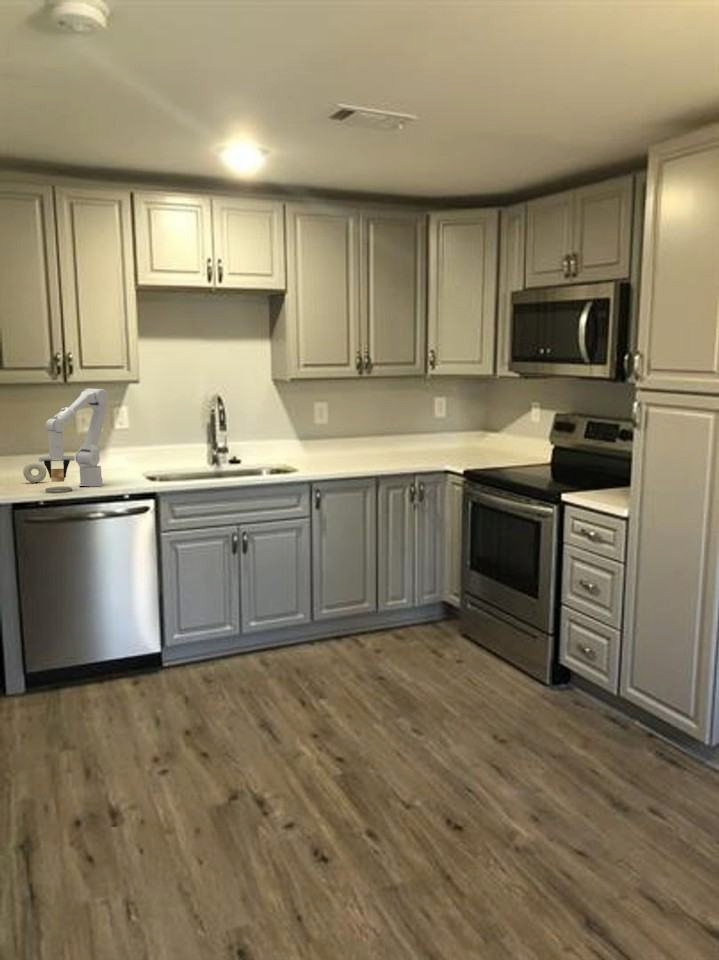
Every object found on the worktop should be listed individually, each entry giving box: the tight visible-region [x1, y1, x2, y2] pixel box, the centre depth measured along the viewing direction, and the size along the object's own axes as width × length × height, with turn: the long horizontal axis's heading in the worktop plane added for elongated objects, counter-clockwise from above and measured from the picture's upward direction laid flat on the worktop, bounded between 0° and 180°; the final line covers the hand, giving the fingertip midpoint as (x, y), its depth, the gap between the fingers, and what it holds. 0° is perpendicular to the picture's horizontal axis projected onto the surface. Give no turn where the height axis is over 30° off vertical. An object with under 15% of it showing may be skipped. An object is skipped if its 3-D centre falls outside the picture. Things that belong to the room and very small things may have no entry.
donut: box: [22, 461, 47, 484], centre depth 366 cm, size 10×4×10 cm, turn 108°
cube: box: [50, 468, 65, 483], centre depth 345 cm, size 5×5×5 cm
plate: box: [44, 486, 73, 494], centre depth 346 cm, size 11×11×1 cm
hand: (57, 477), depth 345 cm, fingers closed on cube, 5 cm apart
